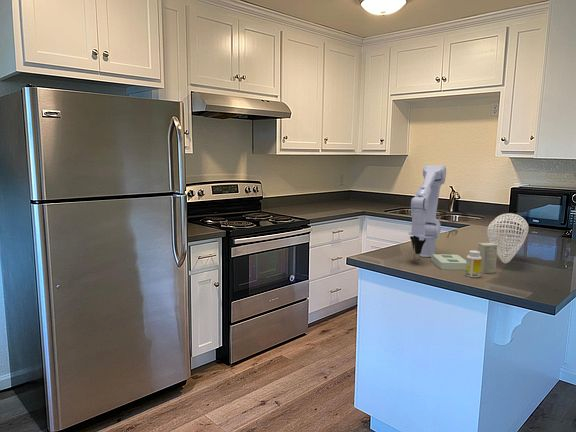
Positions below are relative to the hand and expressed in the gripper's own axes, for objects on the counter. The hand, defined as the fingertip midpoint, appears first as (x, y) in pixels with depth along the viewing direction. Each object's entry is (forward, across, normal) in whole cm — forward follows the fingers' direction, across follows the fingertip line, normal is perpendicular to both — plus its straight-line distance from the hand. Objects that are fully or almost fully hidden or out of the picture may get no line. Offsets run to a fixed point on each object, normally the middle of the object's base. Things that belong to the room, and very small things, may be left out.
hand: (416, 252), depth 195 cm
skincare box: (+5, +13, +26) cm, 29 cm away
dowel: (+3, 0, 0) cm, 3 cm away
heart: (+5, -3, +41) cm, 41 cm away
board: (+5, +3, +14) cm, 15 cm away
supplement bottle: (+5, +20, +18) cm, 27 cm away
